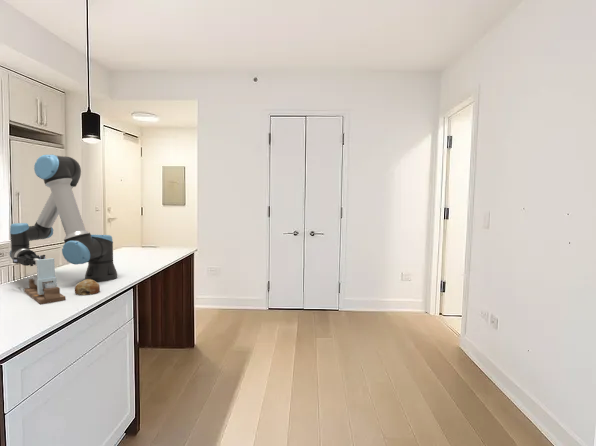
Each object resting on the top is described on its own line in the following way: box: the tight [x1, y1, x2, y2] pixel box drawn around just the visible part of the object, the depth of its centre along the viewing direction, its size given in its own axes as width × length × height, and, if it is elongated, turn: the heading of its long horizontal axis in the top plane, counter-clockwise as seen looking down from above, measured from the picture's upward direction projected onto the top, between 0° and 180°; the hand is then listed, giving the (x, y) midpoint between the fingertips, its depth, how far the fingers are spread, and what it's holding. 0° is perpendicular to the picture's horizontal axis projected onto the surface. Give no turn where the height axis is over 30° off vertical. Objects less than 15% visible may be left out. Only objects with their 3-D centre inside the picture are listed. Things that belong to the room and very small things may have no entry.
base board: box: [23, 278, 66, 305], centre depth 172 cm, size 28×9×6 cm, turn 46°
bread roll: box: [74, 279, 101, 296], centre depth 177 cm, size 10×10×8 cm
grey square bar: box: [31, 275, 56, 290], centre depth 171 cm, size 25×3×3 cm, turn 46°
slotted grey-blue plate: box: [36, 257, 58, 295], centre depth 167 cm, size 3×6×14 cm, turn 136°
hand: (39, 263), depth 174 cm, fingers closed
